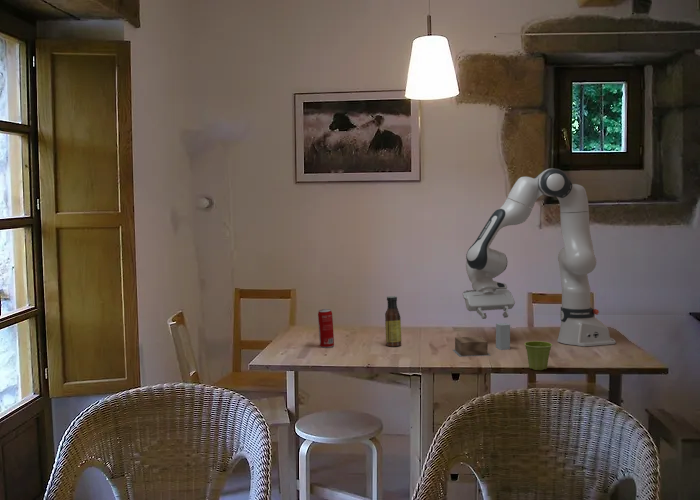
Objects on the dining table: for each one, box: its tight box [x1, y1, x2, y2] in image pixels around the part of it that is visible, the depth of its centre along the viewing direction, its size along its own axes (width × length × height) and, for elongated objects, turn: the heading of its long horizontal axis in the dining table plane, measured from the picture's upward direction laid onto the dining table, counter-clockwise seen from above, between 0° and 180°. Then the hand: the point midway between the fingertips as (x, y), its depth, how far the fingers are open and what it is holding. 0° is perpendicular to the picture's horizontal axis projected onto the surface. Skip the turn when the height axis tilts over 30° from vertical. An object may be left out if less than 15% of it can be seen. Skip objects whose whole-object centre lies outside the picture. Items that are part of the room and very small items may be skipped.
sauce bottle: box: [384, 295, 402, 348], centre depth 296 cm, size 7×6×20 cm
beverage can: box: [317, 308, 335, 349], centre depth 296 cm, size 6×6×15 cm
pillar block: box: [495, 322, 511, 351], centre depth 286 cm, size 4×4×10 cm
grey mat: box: [452, 349, 492, 358], centre depth 281 cm, size 12×12×1 cm
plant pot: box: [524, 340, 553, 371], centre depth 256 cm, size 9×9×9 cm
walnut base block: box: [454, 336, 489, 357], centre depth 280 cm, size 10×10×5 cm
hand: (495, 317), depth 292 cm, fingers open, 8 cm apart
